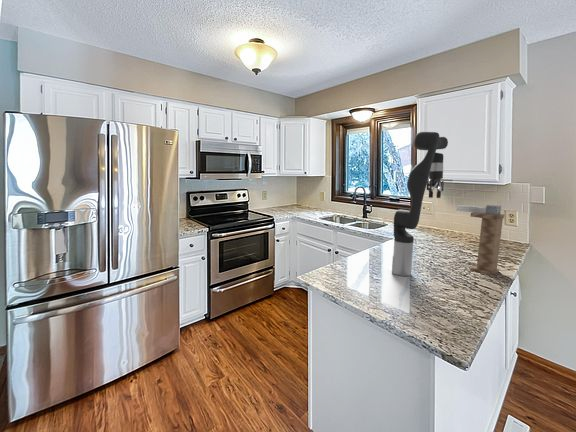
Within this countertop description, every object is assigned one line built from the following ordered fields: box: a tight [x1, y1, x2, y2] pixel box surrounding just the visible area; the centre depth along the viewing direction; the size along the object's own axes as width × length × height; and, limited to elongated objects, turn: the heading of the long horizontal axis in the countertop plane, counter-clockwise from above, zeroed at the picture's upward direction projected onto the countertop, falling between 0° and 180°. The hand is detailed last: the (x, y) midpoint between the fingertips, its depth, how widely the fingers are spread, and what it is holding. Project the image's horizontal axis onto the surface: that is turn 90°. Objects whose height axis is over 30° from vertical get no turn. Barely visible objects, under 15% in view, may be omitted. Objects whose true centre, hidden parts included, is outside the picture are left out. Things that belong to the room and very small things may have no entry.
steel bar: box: [455, 204, 502, 215], centre depth 159 cm, size 20×5×4 cm, turn 36°
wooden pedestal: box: [469, 212, 505, 276], centre depth 158 cm, size 12×10×31 cm
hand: (434, 197), depth 179 cm, fingers open, 8 cm apart
